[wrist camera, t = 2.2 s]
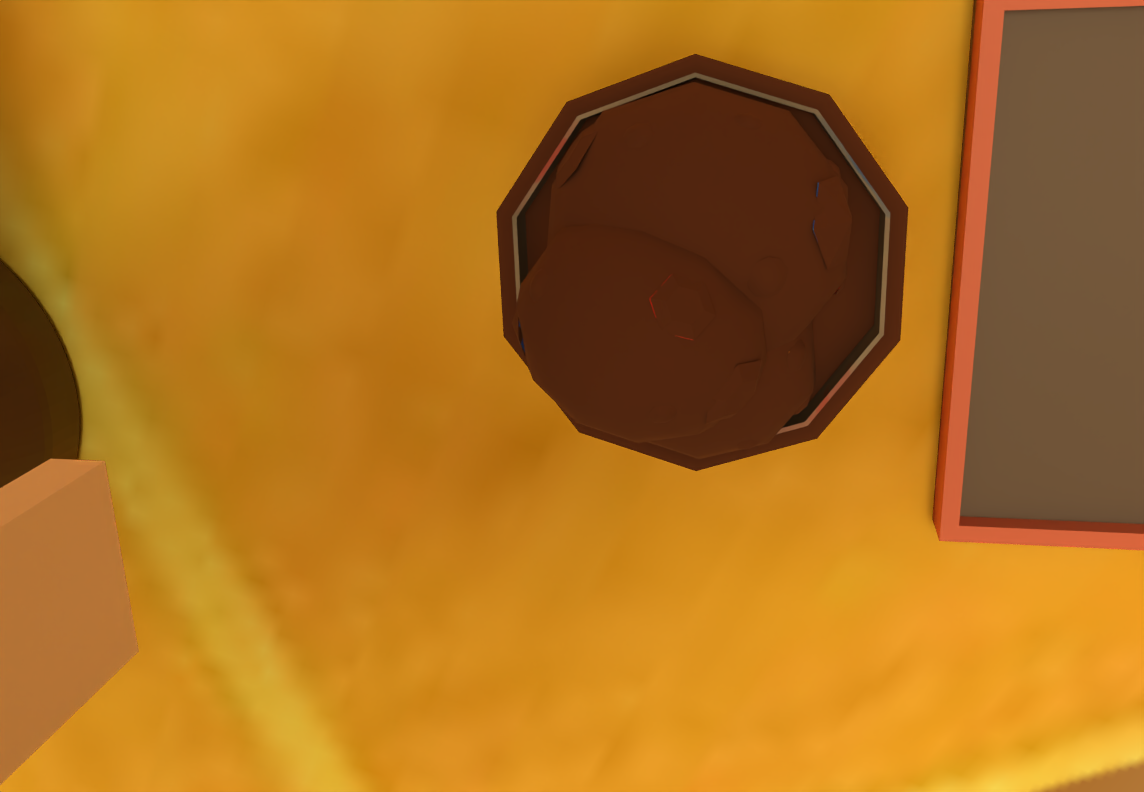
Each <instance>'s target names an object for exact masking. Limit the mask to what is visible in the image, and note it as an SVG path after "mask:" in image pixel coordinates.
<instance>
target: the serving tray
mask: <svg viewBox="0 0 1144 792" xmlns="http://www.w3.org/2000/svg"><path fill="white" fill-rule="evenodd" d="M933 522H934V525H935V528H936V531H937V534H938V538H939V541H955V542H977V543H999V544H1020V545H1042V546H1063V547H1085V548H1106V549H1128V550H1144V0H974V5H973V18H972V30H971V43H970V55H969V68H968V80H967V93H966V105H965V118H964V130H963V143H962V156H961V168H960V181H959V193H958V206H957V218H956V231H955V243H954V256H953V269H952V281H951V294H950V306H949V319H948V331H947V344H946V356H945V369H944V382H943V394H942V407H941V419H940V432H939V444H938V457H937V469H936V482H935V494H934V507H933Z"/></svg>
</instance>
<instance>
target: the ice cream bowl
mask: <svg viewBox="0 0 1144 792" xmlns="http://www.w3.org/2000/svg"><path fill="white" fill-rule="evenodd" d="M907 217H908V207H907V205H906V204H905V202H904V201H903V200H902V198H901V197H900V195H899V194H898V192H897V191H896V190H895V188H894V187H893V185H892V184H891V182H890V181H889V180H888V178H887V177H886V175H885V174H884V172H883V171H882V169H881V168H880V167H879V165H878V164H877V162H876V161H875V159H874V158H873V157H872V155H871V154H870V152H869V151H868V149H867V148H866V147H865V145H864V144H863V142H862V141H861V139H860V138H859V137H858V135H857V134H856V132H855V131H854V129H853V128H852V127H851V125H850V124H849V122H848V121H847V119H846V118H845V116H844V115H843V114H842V112H841V111H840V109H839V108H838V106H837V105H836V104H835V102H834V101H833V99H832V98H831V96H830V95H829V94H825V93H822V92H819V91H816V90H812V89H809V88H806V87H802V86H799V85H796V84H793V83H789V82H786V81H783V80H779V79H776V78H773V77H769V76H766V75H763V74H760V73H756V72H753V71H750V70H746V69H743V68H740V67H737V66H733V65H730V64H727V63H723V62H720V61H717V60H713V59H710V58H707V57H704V56H700V55H697V54H694V55H691V56H689V57H686V58H683V59H681V60H678V61H675V62H673V63H670V64H667V65H664V66H662V67H659V68H656V69H654V70H651V71H648V72H646V73H643V74H640V75H638V76H635V77H632V78H630V79H627V80H624V81H622V82H619V83H616V84H614V85H611V86H608V87H606V88H603V89H600V90H598V91H595V92H592V93H590V94H587V95H584V96H582V97H579V98H576V99H574V100H571V101H568V102H567V103H566V104H565V106H564V107H563V109H562V110H561V112H560V114H559V115H558V117H557V118H556V120H555V121H554V123H553V124H552V126H551V128H550V129H549V131H548V132H547V134H546V135H545V137H544V139H543V140H542V142H541V143H540V145H539V146H538V148H537V149H536V151H535V153H534V154H533V156H532V157H531V159H530V160H529V162H528V163H527V165H526V167H525V168H524V170H523V171H522V173H521V174H520V176H519V177H518V179H517V181H516V182H515V184H514V185H513V187H512V188H511V190H510V191H509V193H508V195H507V196H506V198H505V199H504V201H503V202H502V204H501V206H500V207H499V209H498V210H497V229H498V246H499V263H500V280H501V297H502V314H503V331H504V337H505V338H506V340H507V341H508V342H509V343H510V345H511V346H512V347H513V349H514V350H515V351H516V352H517V354H518V355H519V356H520V357H521V359H522V360H523V361H524V363H525V364H526V365H527V366H528V368H529V370H530V373H531V375H532V378H533V380H534V381H535V382H536V383H537V384H538V385H539V386H540V387H541V388H542V389H543V390H544V391H545V392H546V393H547V394H548V395H549V396H550V397H551V398H552V399H553V400H554V401H555V402H556V403H557V405H558V406H559V407H560V408H561V410H562V411H563V412H564V413H565V415H566V416H567V417H568V419H569V420H570V421H571V422H572V424H573V425H574V426H575V428H576V429H577V430H578V431H579V432H580V433H583V434H586V435H589V436H592V437H595V438H598V439H601V440H604V441H607V442H610V443H613V444H616V445H619V446H622V447H625V448H628V449H631V450H634V451H637V452H640V453H643V454H646V455H649V456H652V457H655V458H658V459H661V460H664V461H667V462H670V463H673V464H677V465H680V466H683V467H686V468H689V469H692V470H695V471H698V470H701V469H705V468H709V467H712V466H716V465H720V464H724V463H727V462H731V461H735V460H738V459H742V458H746V457H750V456H753V455H757V454H761V453H765V452H768V451H772V450H776V449H779V448H783V447H787V446H791V445H794V444H798V443H802V442H805V441H809V440H813V439H817V438H818V437H819V435H820V434H821V433H822V432H823V431H824V430H825V428H826V427H827V426H828V425H829V424H830V422H831V421H832V420H833V419H834V418H835V417H836V415H837V414H838V413H839V412H840V411H841V409H842V408H843V407H844V406H845V405H846V404H847V402H848V401H849V400H850V399H851V398H852V396H853V395H854V394H855V393H856V392H857V391H858V389H859V388H860V387H861V386H862V385H863V384H864V382H865V381H866V380H867V379H868V378H869V376H870V375H871V374H872V373H873V372H874V371H875V369H876V368H877V367H878V366H879V365H880V363H881V362H882V361H883V360H884V359H885V358H886V356H887V355H888V354H889V353H890V352H891V350H892V349H893V348H894V347H895V346H896V345H897V343H898V342H899V341H900V335H901V318H902V301H903V284H904V267H905V251H906V234H907Z"/></svg>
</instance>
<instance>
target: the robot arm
mask: <svg viewBox="0 0 1144 792" xmlns="http://www.w3.org/2000/svg"><path fill="white" fill-rule="evenodd" d="M79 435H80V417H79V405H78V399H77V392H76V388H75V383H74V379H73V376H72V372H71V369H70V365H69V363H68V360H67V357H66V354H65V352H64V350H63V347H62V345H61V343H60V340H59V338H58V336H57V334H56V333H55V331H54V329H53V327H52V325H51V323H50V322H49V320H48V318H47V316H46V315H45V313H44V312H43V310H42V309H41V307H40V306H39V304H38V303H37V301H36V300H35V299H34V297H33V296H32V295H31V294H30V292H29V291H28V290H27V289H26V287H25V286H24V285H23V284H22V283H21V282H20V280H19V279H18V278H17V277H16V276H15V275H14V274H13V273H12V272H11V271H10V270H9V269H8V268H7V267H6V266H5V265H4V264H3V263H2V262H1V261H0V785H1V784H2V783H3V782H4V781H5V780H6V779H7V778H8V777H9V776H10V775H11V774H12V773H13V772H14V771H15V770H16V769H17V768H18V767H19V766H20V765H21V764H22V763H24V762H25V761H26V760H27V759H28V758H29V757H30V756H31V755H32V754H33V753H34V752H35V751H36V750H37V749H38V748H39V747H40V746H41V745H42V744H43V743H44V742H45V741H46V740H47V739H48V738H49V737H50V736H51V735H52V734H54V733H55V732H56V731H57V730H58V729H59V728H60V727H61V726H62V725H63V724H64V723H65V722H66V721H67V720H68V719H69V718H70V717H71V716H72V715H73V714H74V713H75V712H76V711H77V710H78V709H79V708H80V707H81V706H83V705H84V704H85V703H86V702H87V701H88V700H89V699H90V698H91V697H92V696H93V695H94V694H95V693H96V692H97V691H98V690H99V689H100V688H101V687H102V686H103V685H104V684H105V683H106V682H107V681H108V680H109V679H110V678H111V677H113V676H114V675H115V674H116V673H117V672H118V671H119V670H120V669H121V668H122V667H123V666H124V665H125V664H126V663H127V662H128V661H129V660H130V659H131V658H132V657H133V656H134V655H135V654H136V653H137V652H138V645H137V639H136V634H135V628H134V622H133V617H132V611H131V606H130V600H129V594H128V589H127V583H126V577H125V572H124V566H123V561H122V555H121V549H120V544H119V538H118V532H117V527H116V521H115V515H114V510H113V504H112V499H111V493H110V487H109V482H108V476H107V470H106V465H105V461H95V460H76V458H77V453H78V446H79Z"/></svg>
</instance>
